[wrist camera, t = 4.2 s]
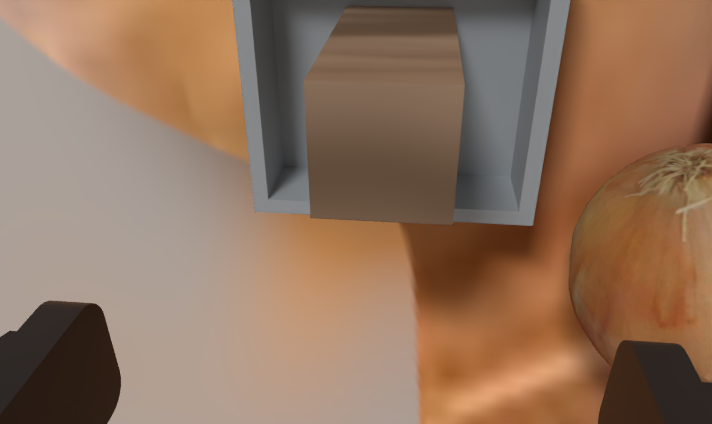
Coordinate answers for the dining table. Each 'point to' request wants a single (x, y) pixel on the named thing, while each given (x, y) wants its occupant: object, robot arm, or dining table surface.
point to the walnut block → (386, 116)
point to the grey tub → (480, 107)
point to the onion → (648, 256)
